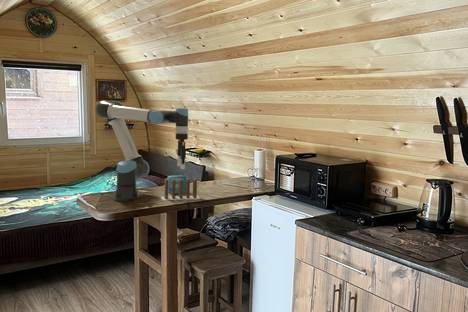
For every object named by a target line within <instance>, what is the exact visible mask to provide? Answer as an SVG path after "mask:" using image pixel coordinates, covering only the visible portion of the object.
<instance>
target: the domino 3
mask: <svg viewBox="0 0 468 312" xmlns="http://www.w3.org/2000/svg"><path fill="white" fill-rule="evenodd" d="M178 196H179V198H180V199H183V196H184V192H183V179H182V178H179V193H178Z"/></svg>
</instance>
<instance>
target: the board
mask: <svg viewBox="0 0 468 312" xmlns="http://www.w3.org/2000/svg"><path fill="white" fill-rule="evenodd" d="M160 198H161V201H177V200H180V201H181V200H201V198H200V197H199V195H197V198H193V195H190V198H186V195H183V199H180V198H179V195H175V199H172V195H168V199H165V196H160Z"/></svg>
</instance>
